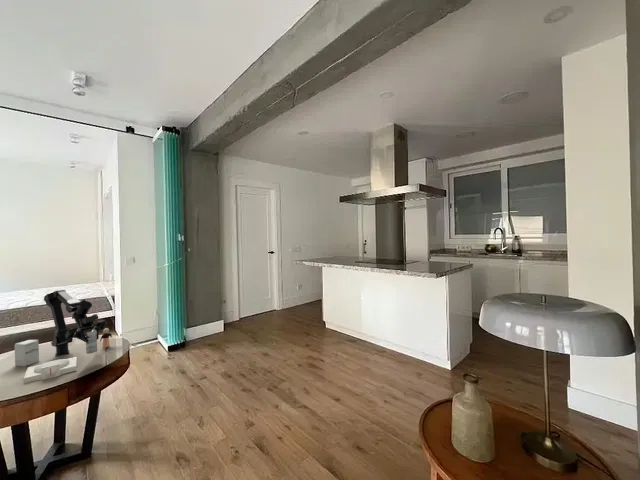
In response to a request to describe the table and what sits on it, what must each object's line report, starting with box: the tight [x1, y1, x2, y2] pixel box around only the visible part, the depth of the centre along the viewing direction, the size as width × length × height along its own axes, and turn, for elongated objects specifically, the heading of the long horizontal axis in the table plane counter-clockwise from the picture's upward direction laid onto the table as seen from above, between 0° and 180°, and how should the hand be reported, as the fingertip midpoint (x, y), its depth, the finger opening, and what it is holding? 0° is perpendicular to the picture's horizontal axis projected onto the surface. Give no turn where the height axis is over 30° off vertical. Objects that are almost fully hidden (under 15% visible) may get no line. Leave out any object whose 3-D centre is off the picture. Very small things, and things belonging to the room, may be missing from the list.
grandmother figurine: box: [99, 327, 113, 350], centre depth 188 cm, size 8×4×13 cm, turn 170°
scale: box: [23, 356, 78, 384], centre depth 155 cm, size 18×20×6 cm
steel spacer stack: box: [85, 329, 98, 354], centre depth 165 cm, size 5×5×12 cm
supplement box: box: [14, 339, 40, 367], centre depth 166 cm, size 7×7×13 cm
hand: (92, 340), depth 164 cm, fingers closed on steel spacer stack, 5 cm apart
